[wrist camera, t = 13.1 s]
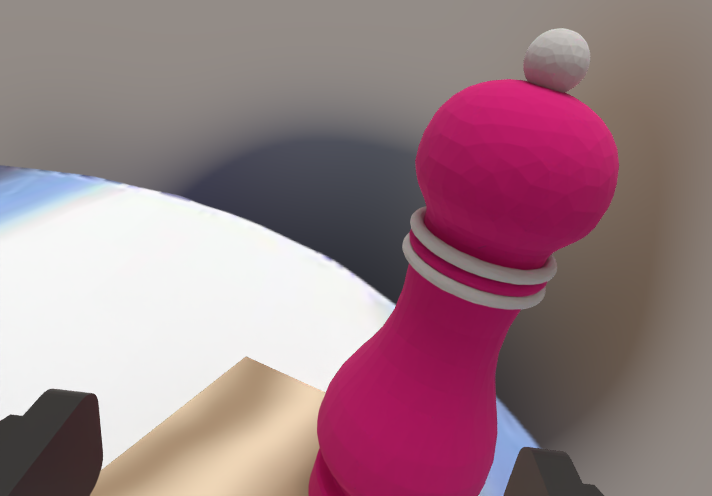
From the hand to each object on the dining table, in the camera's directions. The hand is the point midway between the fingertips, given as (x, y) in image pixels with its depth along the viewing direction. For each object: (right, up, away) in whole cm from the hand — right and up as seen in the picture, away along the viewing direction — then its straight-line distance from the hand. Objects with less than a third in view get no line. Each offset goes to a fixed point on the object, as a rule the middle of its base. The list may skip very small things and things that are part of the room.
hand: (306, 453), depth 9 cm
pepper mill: (+2, -8, +13) cm, 15 cm away
